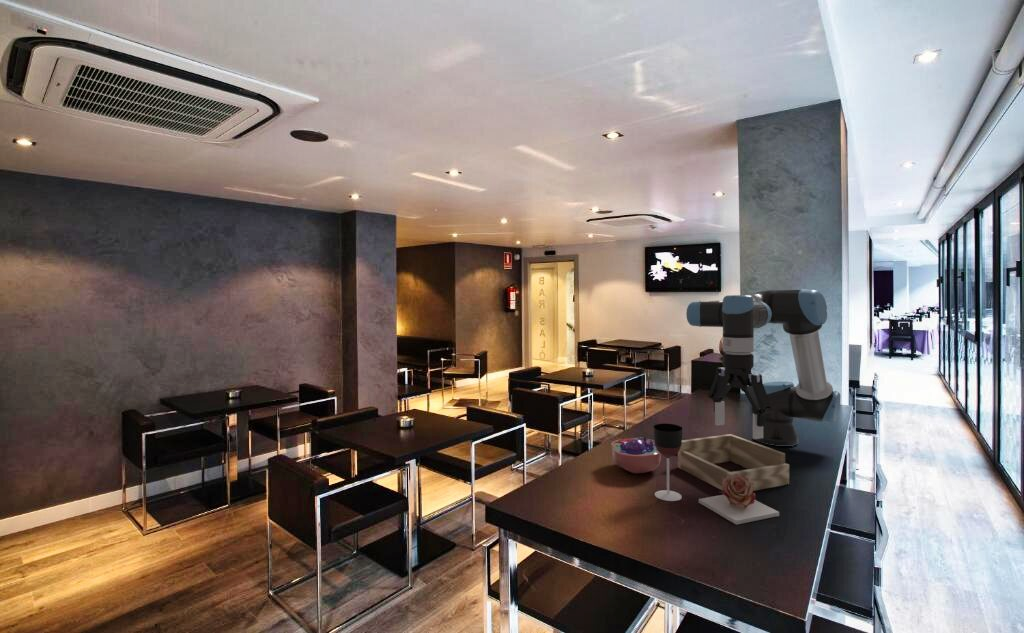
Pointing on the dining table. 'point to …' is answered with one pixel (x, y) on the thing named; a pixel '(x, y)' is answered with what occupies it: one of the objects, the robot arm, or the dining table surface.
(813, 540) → the dining table surface
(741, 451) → the frame
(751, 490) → the flower
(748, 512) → the tile
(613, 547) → the dining table surface
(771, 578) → the dining table surface
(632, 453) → the cell model
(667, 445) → the wineglass
